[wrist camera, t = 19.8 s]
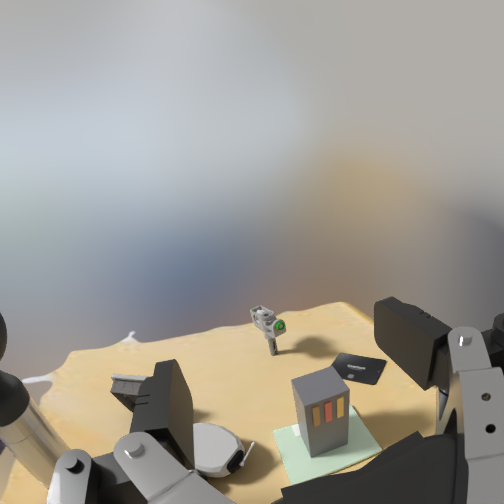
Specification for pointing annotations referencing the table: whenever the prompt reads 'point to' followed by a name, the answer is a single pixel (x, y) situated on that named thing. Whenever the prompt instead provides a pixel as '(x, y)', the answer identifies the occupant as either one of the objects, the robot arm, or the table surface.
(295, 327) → the table surface
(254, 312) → the mechanical component
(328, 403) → the plug block
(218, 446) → the robot toy
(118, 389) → the electrical switch
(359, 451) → the board
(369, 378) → the solid state drive
